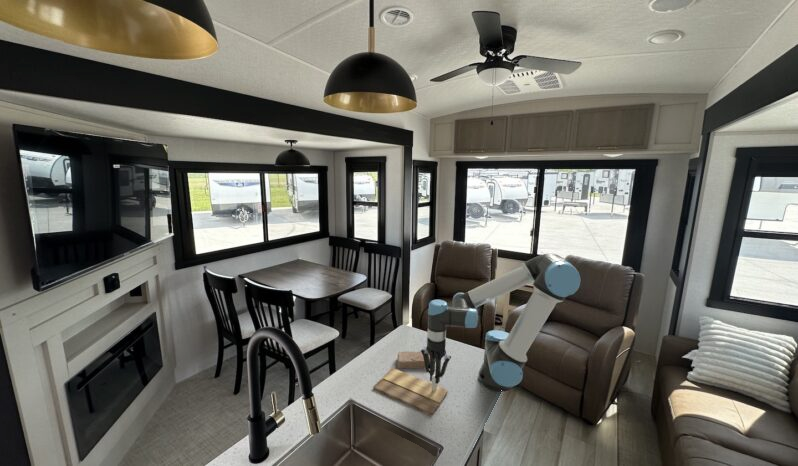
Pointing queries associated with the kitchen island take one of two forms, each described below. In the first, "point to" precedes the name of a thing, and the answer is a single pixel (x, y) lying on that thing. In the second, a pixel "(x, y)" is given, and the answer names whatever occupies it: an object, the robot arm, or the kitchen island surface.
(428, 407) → the laid row
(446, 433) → the kitchen island surface
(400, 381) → the plank
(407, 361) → the brick
